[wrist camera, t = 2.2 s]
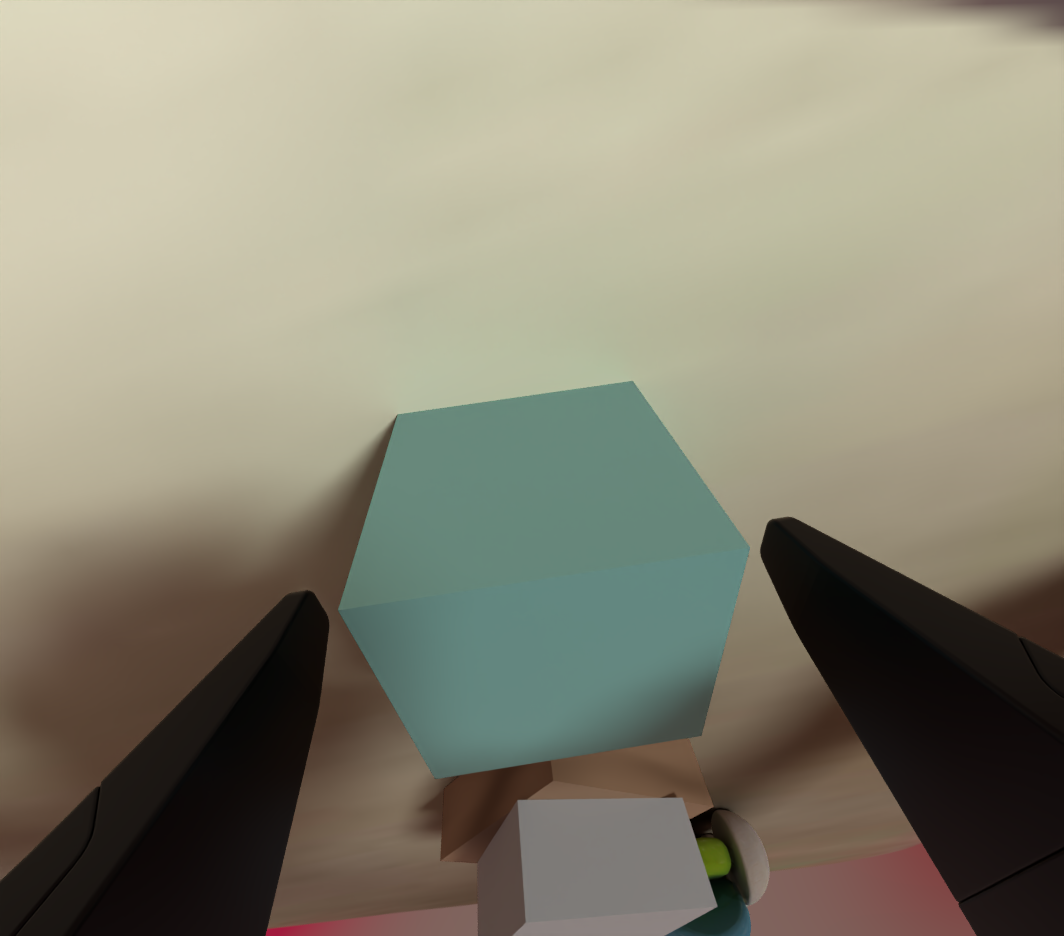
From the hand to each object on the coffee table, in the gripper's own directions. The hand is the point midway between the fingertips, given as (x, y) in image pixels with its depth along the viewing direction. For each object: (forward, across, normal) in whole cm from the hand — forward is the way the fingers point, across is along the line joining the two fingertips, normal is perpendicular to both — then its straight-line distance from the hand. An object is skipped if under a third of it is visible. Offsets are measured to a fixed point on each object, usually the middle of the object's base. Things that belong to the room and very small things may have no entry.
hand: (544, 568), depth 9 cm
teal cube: (+3, 0, 0) cm, 3 cm away
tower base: (+3, 0, +16) cm, 16 cm away
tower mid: (0, 0, +16) cm, 16 cm away
